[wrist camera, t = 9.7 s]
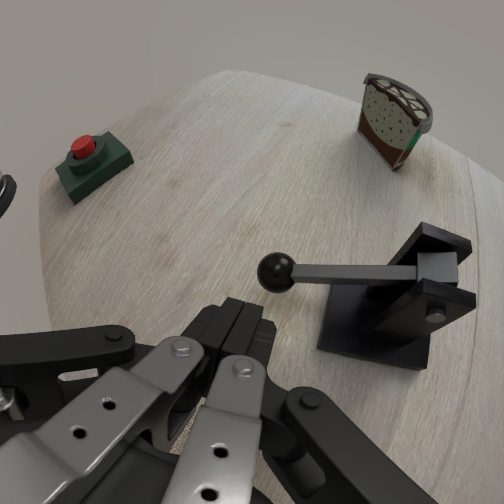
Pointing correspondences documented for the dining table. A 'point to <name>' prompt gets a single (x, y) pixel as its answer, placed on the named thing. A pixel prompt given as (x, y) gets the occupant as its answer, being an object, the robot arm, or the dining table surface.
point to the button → (83, 147)
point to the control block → (93, 166)
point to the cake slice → (393, 118)
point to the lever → (356, 272)
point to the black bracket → (397, 308)
